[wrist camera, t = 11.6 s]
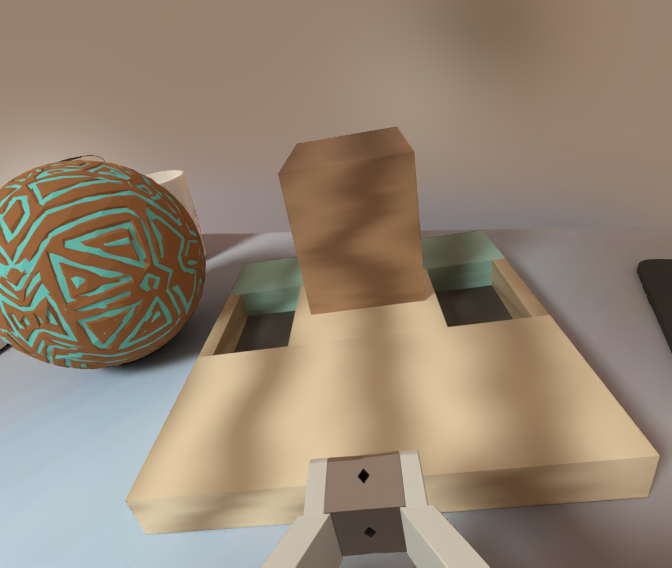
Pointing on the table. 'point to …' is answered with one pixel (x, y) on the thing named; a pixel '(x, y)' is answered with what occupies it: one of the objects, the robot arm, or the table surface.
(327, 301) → the walnut block
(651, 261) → the phone
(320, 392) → the board
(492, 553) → the table surface
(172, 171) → the white cup
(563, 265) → the table surface
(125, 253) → the decorative sphere
